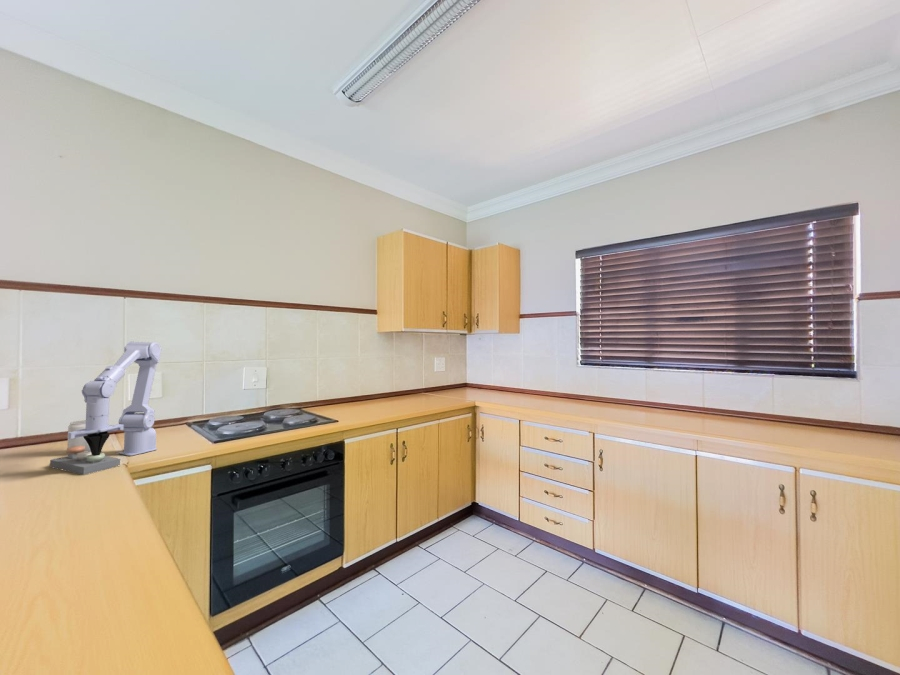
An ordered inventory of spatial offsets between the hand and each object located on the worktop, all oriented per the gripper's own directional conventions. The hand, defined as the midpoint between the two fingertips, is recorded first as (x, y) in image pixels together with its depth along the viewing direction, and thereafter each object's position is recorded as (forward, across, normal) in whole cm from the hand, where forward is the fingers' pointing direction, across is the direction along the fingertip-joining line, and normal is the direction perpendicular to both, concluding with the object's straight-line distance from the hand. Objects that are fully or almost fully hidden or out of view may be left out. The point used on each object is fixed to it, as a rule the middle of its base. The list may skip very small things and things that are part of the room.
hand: (95, 455), depth 126 cm
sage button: (+4, 0, 0) cm, 4 cm away
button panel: (+5, 0, +6) cm, 8 cm away
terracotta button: (+3, 0, +12) cm, 12 cm away
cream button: (+4, 0, +6) cm, 7 cm away
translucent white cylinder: (+5, +9, +28) cm, 30 cm away
